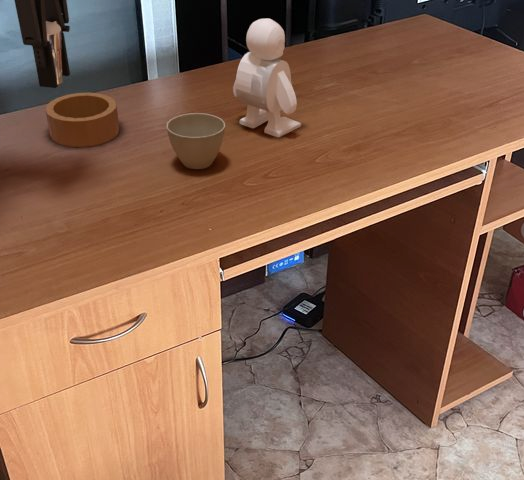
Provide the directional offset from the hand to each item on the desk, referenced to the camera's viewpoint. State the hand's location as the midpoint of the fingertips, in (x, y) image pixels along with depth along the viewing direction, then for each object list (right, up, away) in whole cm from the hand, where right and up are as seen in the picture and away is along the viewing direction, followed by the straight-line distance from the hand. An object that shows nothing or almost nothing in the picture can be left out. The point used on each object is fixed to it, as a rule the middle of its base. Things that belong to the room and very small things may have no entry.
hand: (55, 80), depth 124 cm
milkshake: (0, 0, 0) cm, 0 cm away
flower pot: (+21, -10, +15) cm, 28 cm away
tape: (-1, -2, +24) cm, 24 cm away
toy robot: (+33, 0, +26) cm, 42 cm away
